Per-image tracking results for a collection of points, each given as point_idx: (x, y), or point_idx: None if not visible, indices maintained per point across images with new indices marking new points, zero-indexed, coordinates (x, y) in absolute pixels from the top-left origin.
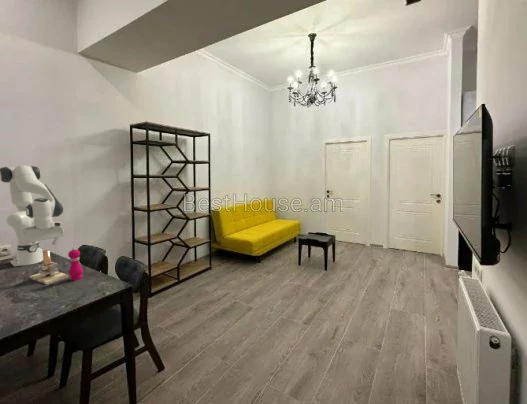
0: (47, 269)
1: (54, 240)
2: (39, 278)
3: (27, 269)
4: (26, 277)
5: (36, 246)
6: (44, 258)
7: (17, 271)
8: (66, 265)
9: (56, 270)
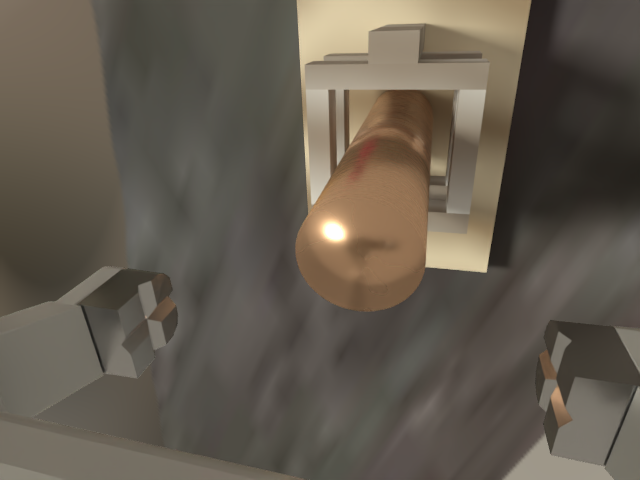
0: (418, 110)
1: (55, 380)
2: (495, 116)
3: (376, 445)
4: (478, 309)
5: (635, 367)
6: (425, 178)
7: (427, 466)
8: (192, 286)
9: (348, 53)
